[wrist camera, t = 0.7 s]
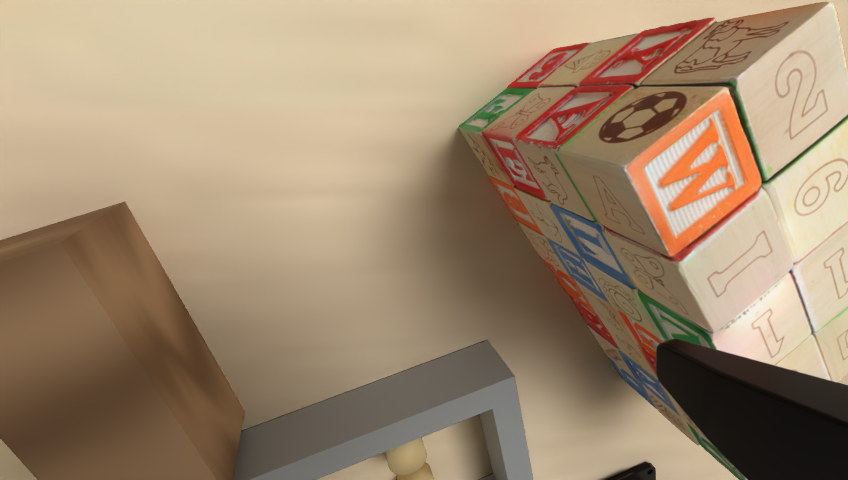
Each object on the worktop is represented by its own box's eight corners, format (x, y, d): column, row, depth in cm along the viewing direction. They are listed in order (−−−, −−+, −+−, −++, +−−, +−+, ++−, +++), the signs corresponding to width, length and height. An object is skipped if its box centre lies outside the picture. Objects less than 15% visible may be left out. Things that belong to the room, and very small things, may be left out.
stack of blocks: (691, 322, 30) (930, 464, 18) (621, 379, 30) (817, 556, 18) (552, 44, 21) (848, -11, 10) (452, 125, 21) (630, 167, 10)
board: (244, 408, 23) (229, 498, 18) (148, 447, 22) (103, 552, 17) (126, 200, 18) (60, 242, 13) (-1, 240, 17) (-123, 300, 12)
